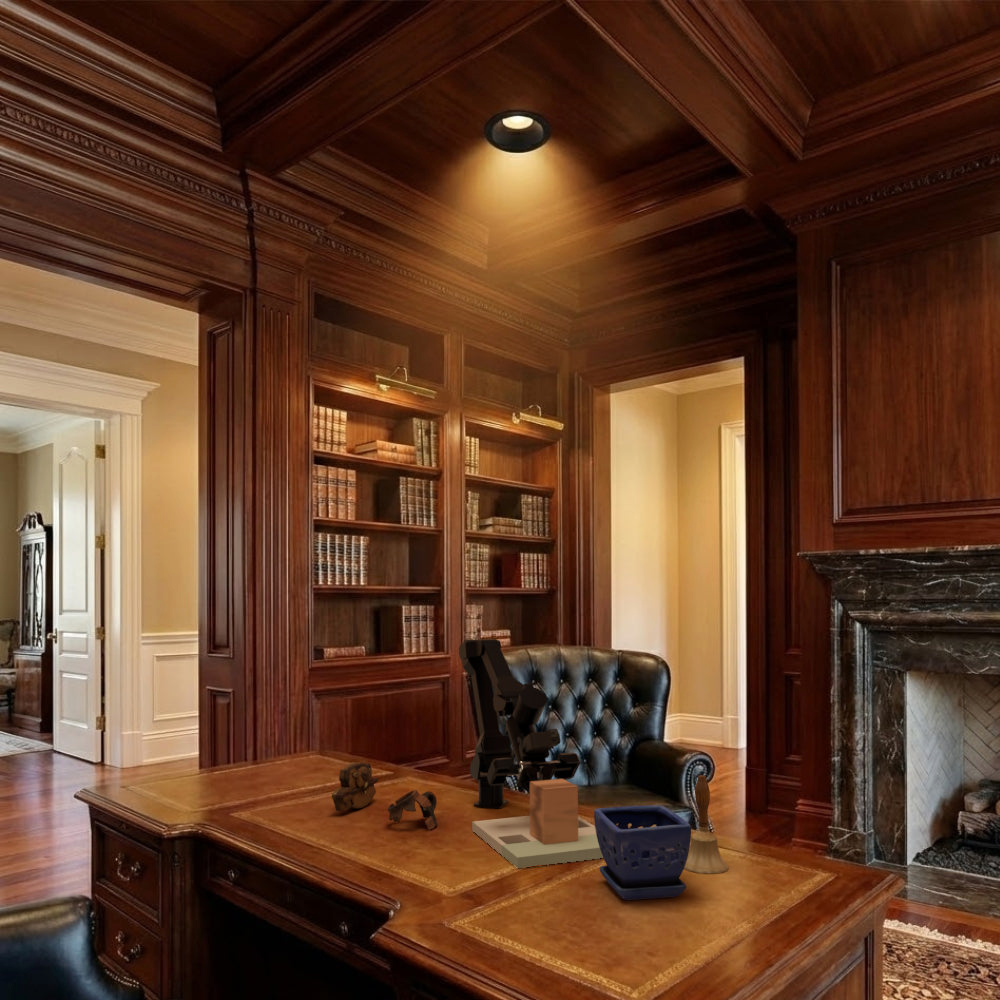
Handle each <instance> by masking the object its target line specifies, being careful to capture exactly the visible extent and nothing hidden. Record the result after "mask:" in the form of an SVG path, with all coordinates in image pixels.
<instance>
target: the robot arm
mask: <svg viewBox="0 0 1000 1000" xmlns="http://www.w3.org/2000/svg"><path fill="white" fill-rule="evenodd" d="M458 655H459V659H460V660H461V664H462V668H463V670H464V671H465V673H467V674H468V675H469V676H470V678H471V683H472V689H473V690H472V691H473V698H474V704H475V710H476V716H477V718H476V719H477V723H478V730H479V737H478V741H477V743H476V745H475V748H474V751H475V754H474V756H473V759H472V760H471V764H470V765H469V772H470V777H471V778H473V779H474V780H476V781H478V800H476V802H474V803H473V807H477V806H478V807H479V808H480V807H481V808H489V809H490V808H491V809H501V808H503V807H504V806H505V805H506V804H508V803H509V799H504V784H505V783H506V782H507V778H512V776H516V777H517V781H516V783H515V785H516V787H518V788H520V787H521V789H523V790H524V791H526V792H527V793H528V794H529V795H530V781H541V780H552V779H553V776H554V778H555V779H564V780H571V779H573V778H575V775H576V774H577V771H578V769H579V767H580V765H581V762H582V761H581V759H580V756H579V755H578V754H577V753H576V752H565V753H562V752H561V753H558V755H557V756H556V759H555V760H546V759H548V758H549V756H550V750H551V749H554V748H555V747H557V746H559V745H560V744H561V735H560V733H559V730H558V728H548V730H547V731H537V730H536V727H535V725H536V724H537V723H539V721H540V718H541V717H542V714H543V712H544V709H545V707H546V705H547V702H548V698H547V696H546V694H545V692H543V691H542V690H541V689H539V688H537V687H534V684H533V683H522V682H521V681H519V680H517V679H516V678H515V677H514V676H513V673H512V670H511V668H510V667H509V663H508V662H507V660H506V657H505V655H504V653H503V651H502V644H501V641H500V640H499V639H498V638H497V639H496V638H484V639H483V638H481V639H480V638H479V639H464V641H463V642H462V643H461V644H459V647H458ZM498 716H499V717H507V719H506V722H505V729H504V733H505V734H503V733H502V731H501V730H500V724H499V717H498ZM511 747H512V748H511ZM515 760H516V762H517V763H516V764H515V763H514V761H515Z"/></svg>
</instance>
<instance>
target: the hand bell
mask: <svg viewBox="0 0 1000 1000" xmlns="http://www.w3.org/2000/svg"><path fill="white" fill-rule="evenodd" d="M694 791H695V792H694V794H695V802H696V805H697V810H698V831H697V832H694V833H691V840H690V848H689V853H688V858H687V861H686V864H685V867H684V870H686V871H688V870H689V871H688V872H691V871H693V872H692V873H696V872H697V873H696V874H700V873H703V874H702V875H714V874H713V873H719V874H723V873H726V871H728V870H729V865H728V863H727V862H726V861H725V860H724V859H723V857H722V856H721V853H720V850H719V846H718V837H717V836H716V835H715V834H713V833H712V832H710V830H709V829H710V828H709V818H708V817H709V816H708V809H709V806H710V799H711V793H710V787H709V783H708V781H707V777H706V775H704V774H700V775H698V777H697V780H696V784H695V789H694ZM722 872H723V873H722Z"/></svg>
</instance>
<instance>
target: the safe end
mask: <svg viewBox="0 0 1000 1000" xmlns="http://www.w3.org/2000/svg"><path fill="white" fill-rule="evenodd" d="M502 856H503V858H504V857H505V858H506V859H507V860H508V861H510V862H511V863H512V864H513V865H515V866H516V867H517V868H523V867H529V866H537V865H546V864H547V866H550V865H549V864H555V865H558V864H557V863H563V864H568V863H567V862H571V863H577V862H576V861H579V862H585V861H584V860H587V861H593V860H592V859H595V860H601V859H600V858H603V855H602V853H601V850H600V847H599V843H598V840H597V835H596V834H593V835H584V836H578V841H570V842H562V843H553V844H543V843H541V842H540V841H531V842H523V843H514V844H505V845H502ZM502 856H501V857H502ZM505 858H504V859H505ZM506 859H505V860H506ZM603 859H604V858H603ZM507 860H506V861H507ZM508 861H507V862H508ZM510 862H509V863H510ZM511 863H510V864H511ZM512 864H511V865H512ZM513 865H512V866H513ZM516 867H515V868H516ZM517 868H516V869H517ZM523 869H524V868H523Z"/></svg>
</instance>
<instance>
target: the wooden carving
mask: <svg viewBox="0 0 1000 1000" xmlns="http://www.w3.org/2000/svg"><path fill="white" fill-rule="evenodd" d="M372 769H373V768H372V766H371V764H370V763H369V762H368V763H365V762H360V761H359V762H349V763H348V764H346V765H345V766H344V767H343V768H342V769H340V770H339V775H338V779H339V782H340V787H337V788H335V789H334V790H333V792H332V794H331V799H332V800H333V803H334V808H335V811H336V812H343V811H344V812H346V811H348V810H353V809H362V808H364V807H366V806H367V805H368V804H369V803H371V801H372V800H373V799H374V797H375V795H376V793H377V789H376V787H375V784H377V783H378V782H379V777H374V776H373V774H372V773H373V772H372V771H373V770H372Z"/></svg>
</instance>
